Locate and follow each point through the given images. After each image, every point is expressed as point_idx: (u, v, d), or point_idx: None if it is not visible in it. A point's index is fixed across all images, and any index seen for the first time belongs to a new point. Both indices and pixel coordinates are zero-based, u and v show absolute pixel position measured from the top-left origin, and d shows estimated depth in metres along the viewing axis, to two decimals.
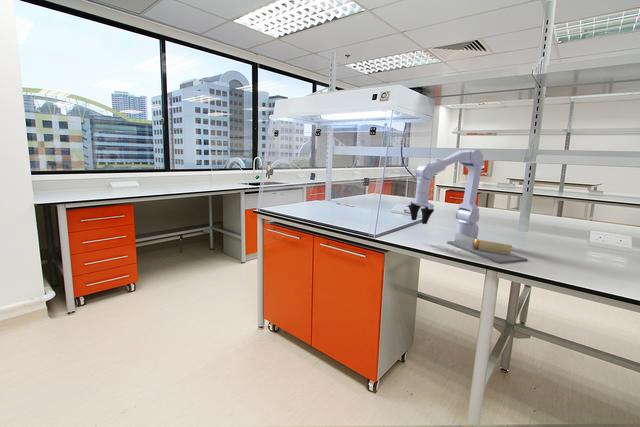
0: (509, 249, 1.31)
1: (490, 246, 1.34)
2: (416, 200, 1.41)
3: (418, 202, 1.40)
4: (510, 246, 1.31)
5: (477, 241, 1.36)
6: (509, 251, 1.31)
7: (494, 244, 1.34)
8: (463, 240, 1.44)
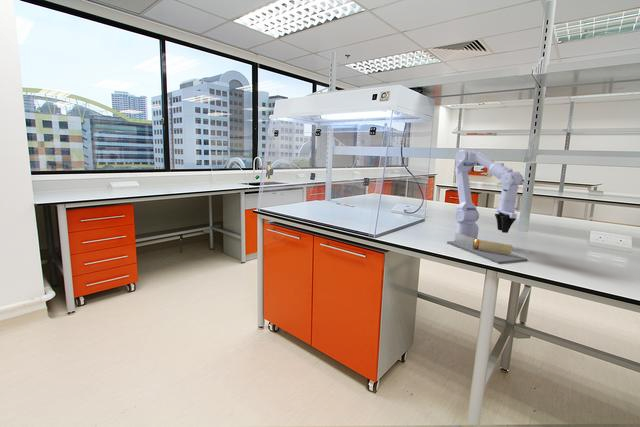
0: (509, 249, 1.31)
1: (490, 246, 1.34)
2: (499, 208, 1.35)
3: (501, 210, 1.34)
4: (510, 246, 1.31)
5: (477, 241, 1.36)
6: (509, 251, 1.31)
7: (494, 244, 1.34)
8: (463, 240, 1.44)
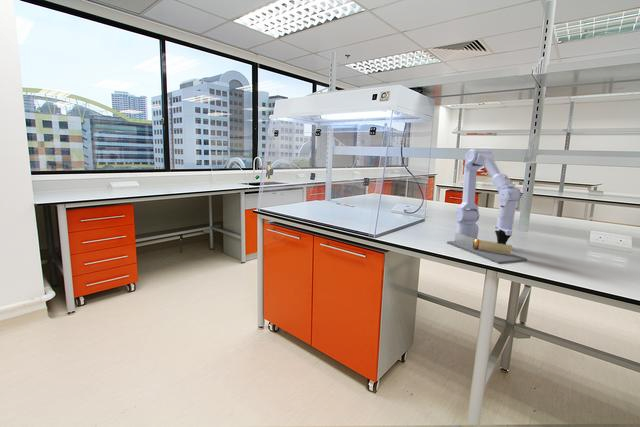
0: (509, 249, 1.31)
1: (490, 246, 1.34)
2: (497, 224, 1.33)
3: (498, 226, 1.32)
4: (510, 246, 1.31)
5: (477, 241, 1.36)
6: (509, 251, 1.31)
7: (494, 244, 1.34)
8: (463, 240, 1.44)
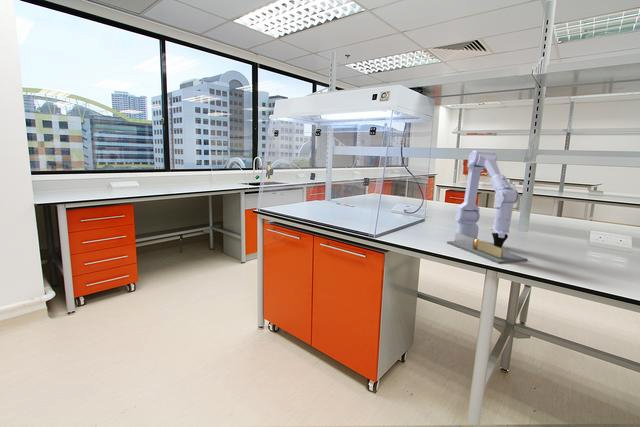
0: (499, 252, 1.26)
1: (485, 247, 1.32)
2: (493, 226, 1.29)
3: (493, 228, 1.28)
4: (500, 249, 1.25)
5: (475, 241, 1.37)
6: (499, 254, 1.26)
7: (488, 245, 1.31)
8: (463, 240, 1.44)
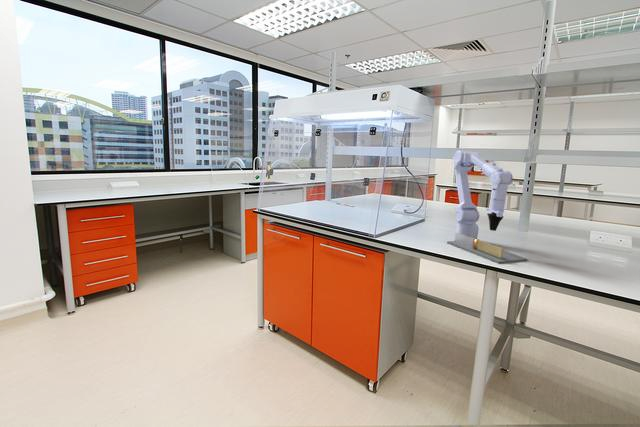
0: (499, 252, 1.26)
1: (485, 247, 1.32)
2: (489, 207, 1.37)
3: (490, 209, 1.36)
4: (500, 249, 1.25)
5: (475, 241, 1.37)
6: (499, 254, 1.26)
7: (488, 245, 1.31)
8: (463, 240, 1.44)
